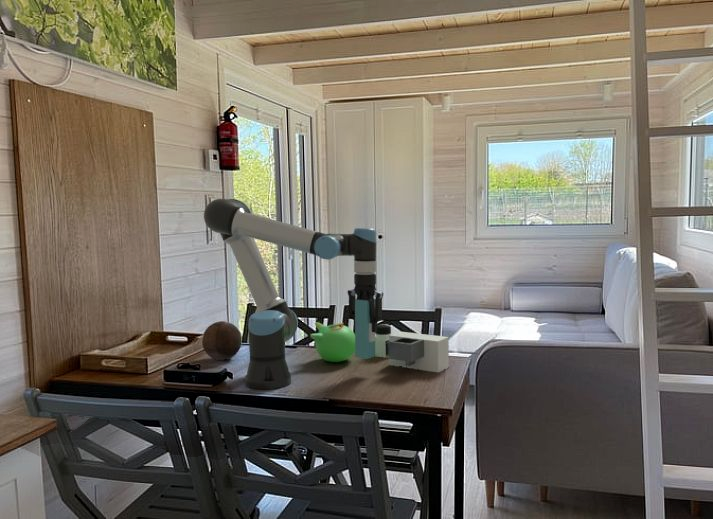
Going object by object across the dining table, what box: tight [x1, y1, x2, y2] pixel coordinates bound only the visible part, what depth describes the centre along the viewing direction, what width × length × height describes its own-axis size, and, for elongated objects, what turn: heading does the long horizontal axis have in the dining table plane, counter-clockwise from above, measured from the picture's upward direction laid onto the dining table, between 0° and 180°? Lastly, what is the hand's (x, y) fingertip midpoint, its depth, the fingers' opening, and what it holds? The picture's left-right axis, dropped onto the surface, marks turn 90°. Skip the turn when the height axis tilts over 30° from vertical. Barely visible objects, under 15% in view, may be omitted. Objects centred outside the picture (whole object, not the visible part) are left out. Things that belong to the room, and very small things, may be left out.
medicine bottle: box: [375, 323, 392, 359], centre depth 229 cm, size 7×7×12 cm
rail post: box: [354, 298, 376, 360], centre depth 202 cm, size 5×5×20 cm
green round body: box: [309, 321, 355, 363], centre depth 222 cm, size 18×17×15 cm
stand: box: [388, 331, 450, 373], centre depth 212 cm, size 20×8×11 cm, turn 54°
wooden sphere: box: [201, 320, 243, 361], centre depth 228 cm, size 15×15×15 cm
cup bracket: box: [388, 337, 424, 366], centre depth 205 cm, size 9×9×9 cm
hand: (365, 340), depth 202 cm, fingers closed on rail post, 5 cm apart
